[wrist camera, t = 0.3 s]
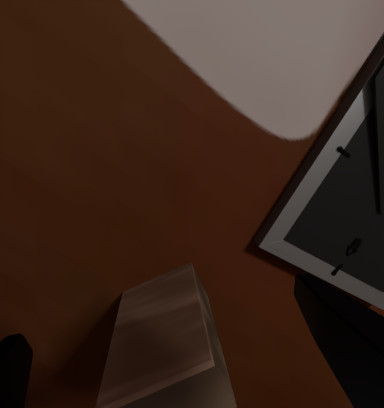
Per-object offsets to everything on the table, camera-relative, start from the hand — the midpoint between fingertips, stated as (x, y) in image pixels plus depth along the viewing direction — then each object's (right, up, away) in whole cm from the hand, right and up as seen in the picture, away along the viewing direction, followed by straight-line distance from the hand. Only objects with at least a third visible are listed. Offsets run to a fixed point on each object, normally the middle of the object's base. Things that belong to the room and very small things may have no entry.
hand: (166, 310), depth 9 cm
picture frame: (+18, +6, +17) cm, 26 cm away
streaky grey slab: (-2, -5, +17) cm, 18 cm away
